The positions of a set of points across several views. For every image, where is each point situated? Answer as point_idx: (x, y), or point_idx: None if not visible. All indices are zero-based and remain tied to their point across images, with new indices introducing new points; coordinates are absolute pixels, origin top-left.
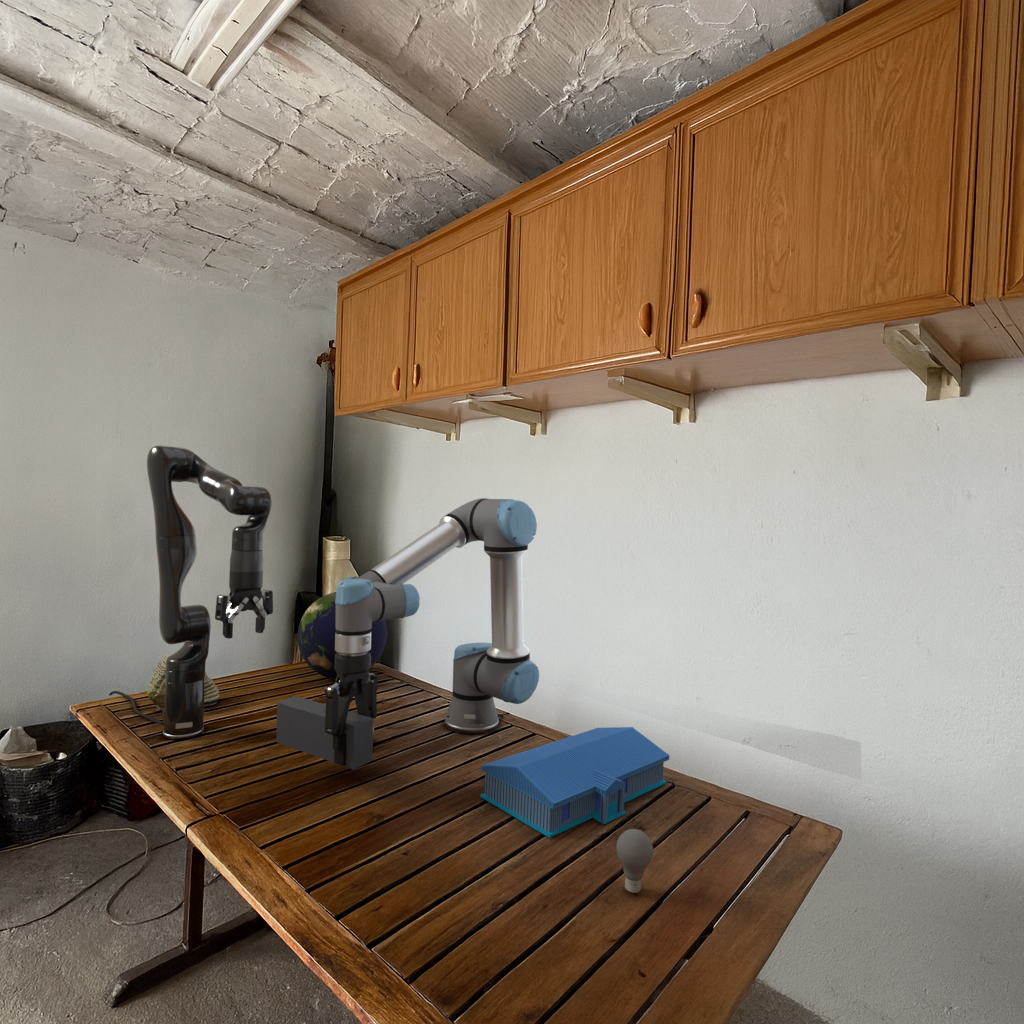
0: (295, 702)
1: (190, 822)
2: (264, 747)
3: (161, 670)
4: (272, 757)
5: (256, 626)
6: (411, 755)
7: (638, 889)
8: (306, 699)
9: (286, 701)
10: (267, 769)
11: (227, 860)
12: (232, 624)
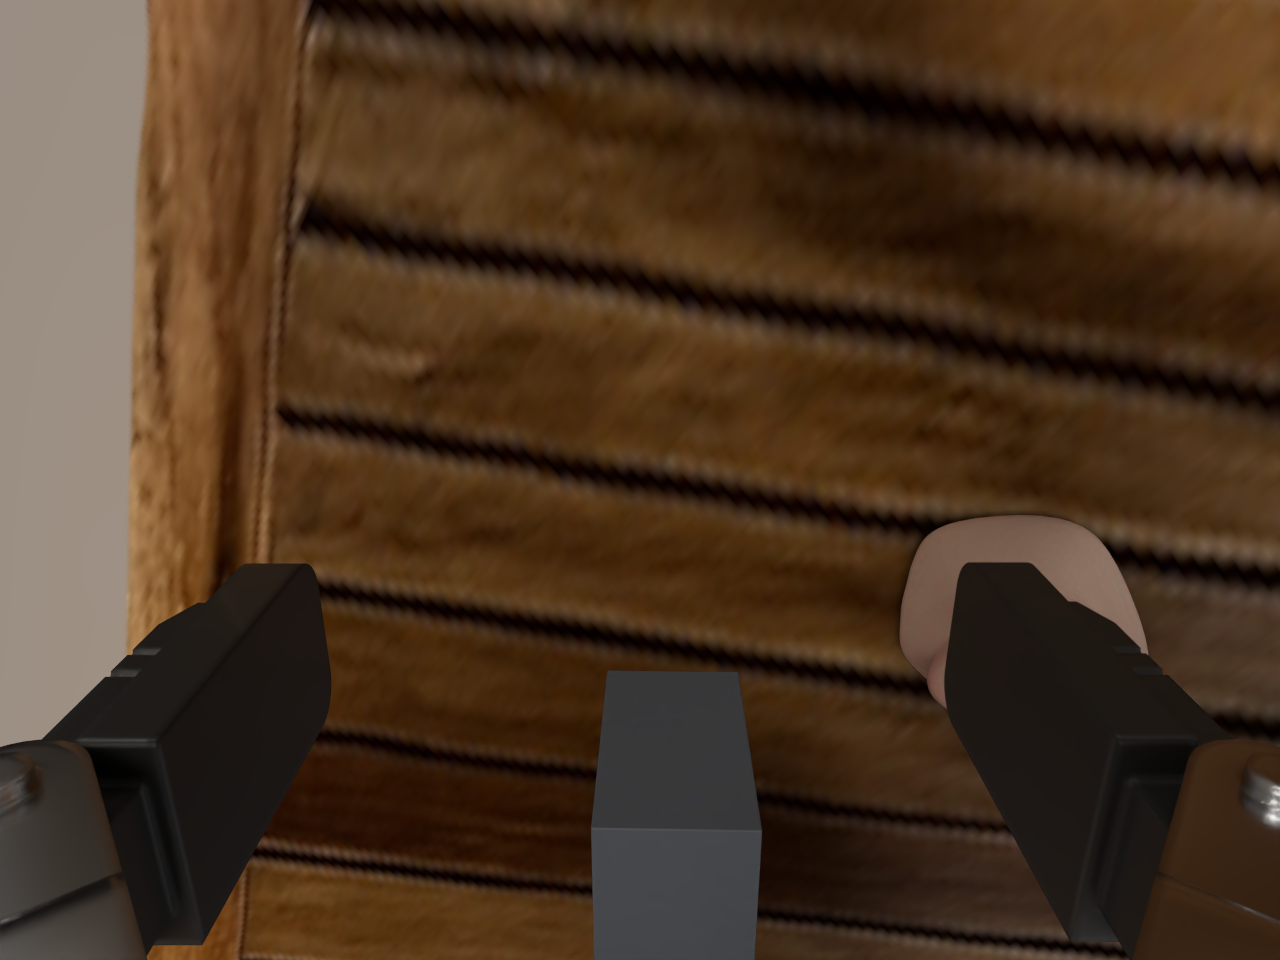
0: (662, 913)
1: None
2: (769, 328)
3: None
4: (704, 469)
5: (1006, 635)
6: None
7: None
8: (748, 921)
9: (640, 862)
10: (599, 559)
11: None
12: (208, 912)
